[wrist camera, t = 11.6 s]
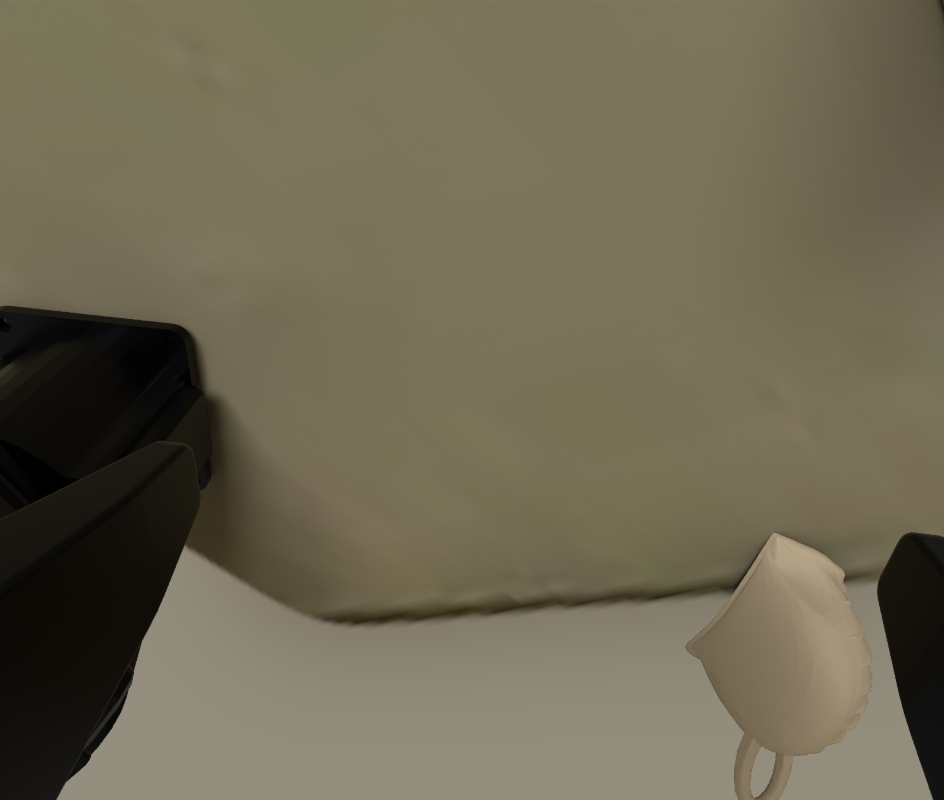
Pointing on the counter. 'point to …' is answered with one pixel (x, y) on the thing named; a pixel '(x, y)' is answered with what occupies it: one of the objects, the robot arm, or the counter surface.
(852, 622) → the decorative ornament
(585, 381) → the counter surface
